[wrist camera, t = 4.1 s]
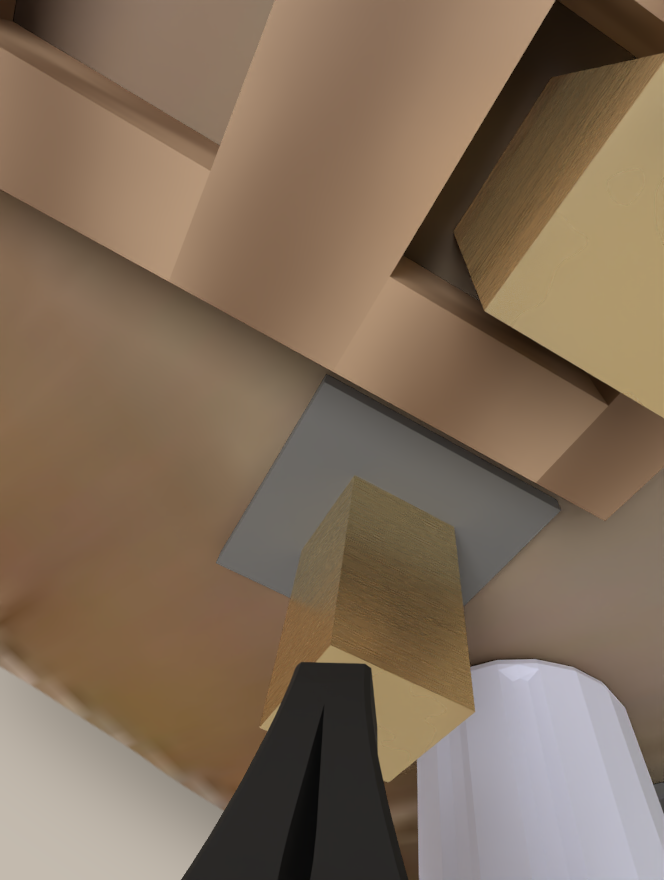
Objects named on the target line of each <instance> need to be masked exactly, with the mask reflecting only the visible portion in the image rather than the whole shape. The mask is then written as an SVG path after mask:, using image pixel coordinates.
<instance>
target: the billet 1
mask: <svg viewBox="0 0 664 880" xmlns="http://www.w3.org/2000/svg"><path fill="white" fill-rule="evenodd" d="M301 662H320V663H360V664H366V665H368V666H369V667H370V668H371V670H372V680H373V689H374V699H375V709H376V718H377V738H378V758H379V762H380V767H381V772H382V777H383V780H384V781H386V782H390V781H391V780H392V779H394V778H395V777H396V776H397V775H398V774H400V773H401V772H402V771H403V770H405V769H406V768H407V767H408V766H410V765H411V764H412V763H413V762H414V761H416V760H417V759H418V758H419V757H421V756H422V755H423V754H424V753H425V752H427V751H428V750H429V749H430V748H432V747H433V746H434V745H435V744H436V743H438V742H439V741H440V740H441V739H443V738H444V737H445V736H446V735H448V734H449V733H450V732H451V731H452V730H454V729H455V728H456V727H457V726H459V725H460V724H461V723H462V722H463V721H465V720H466V719H467V718H468V717H470V716H471V715H472V714H473V713H474V712H475V705H474V697H473V688H472V679H471V670H470V662H469V653H468V644H467V635H466V626H465V618H464V609H463V600H462V591H461V583H460V574H459V565H458V556H457V548H456V539H455V530H454V526H452V525H450V524H448V523H446V522H444V521H442V520H440V519H438V518H436V517H434V516H432V515H430V514H429V513H427V512H425V511H423V510H421V509H419V508H417V507H415V506H413V505H411V504H409V503H407V502H405V501H404V500H402V499H400V498H398V497H396V496H394V495H392V494H390V493H388V492H386V491H384V490H382V489H380V488H378V487H377V486H375V485H373V484H371V483H369V482H367V481H365V480H363V479H361V478H359V477H357V476H355V475H354V477H353V478H352V479H351V481H350V482H349V484H348V485H347V486H346V488H345V489H344V491H343V492H342V494H341V495H340V496H339V498H338V499H337V501H336V502H335V503H334V505H333V506H332V508H331V509H330V511H329V512H328V513H327V515H326V516H325V518H324V519H323V521H322V522H321V523H320V525H319V526H318V528H317V529H316V530H315V532H314V533H313V535H312V536H311V538H310V539H309V540H308V542H307V543H306V545H305V546H304V547H303V549H302V551H301V555H300V559H299V563H298V568H297V572H296V576H295V580H294V584H293V589H292V593H291V597H290V601H289V606H288V610H287V614H286V618H285V622H284V627H283V631H282V635H281V639H280V643H279V648H278V652H277V656H276V660H275V664H274V669H273V673H272V677H271V681H270V686H269V690H268V694H267V698H266V702H265V707H264V711H263V715H262V719H261V723H260V728H262V729H264V730H266V731H268V729H269V727H270V725H271V723H272V721H273V719H274V717H275V715H276V713H277V711H278V709H279V706H280V704H281V702H282V700H283V697H284V695H285V693H286V690H287V688H288V686H289V683H290V681H291V679H292V676H293V673H294V671H295V668H296V666H297V665H298V664H299V663H301Z"/></svg>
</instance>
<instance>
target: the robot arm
mask: <svg viewBox="0 0 664 880" xmlns="http://www.w3.org/2000/svg"><path fill="white" fill-rule="evenodd" d="M181 880H408V877H407V874H406V870H405V867H404V863H403V859H402V856H401V852H400V848H399V845H398V841H397V837H396V833H395V829H394V825H393V822H392V817H391V813H390V809H389V805H388V801H387V796H386V791H385V787H384V782H383V777H382V772H381V767H380V762H379V758H378V738H377V718H376V709H375V699H374V689H373V680H372V670H371V668H370V667H369V666H368V665H366V664H360V663H320V662H301V663H299V664H298V665H297V666H296V668H295V671H294V673H293V676H292V679H291V681H290V683H289V686H288V688H287V690H286V693H285V695H284V697H283V700H282V702H281V704H280V706H279V709H278V711H277V713H276V715H275V717H274V719H273V721H272V723H271V725H270V727H269V729H268V732H267V734H266V736H265V738H264V740H263V741H262V743H261V745H260V747H259V749H258V751H257V753H256V755H255V757H254V759H253V760H252V762H251V764H250V766H249V768H248V770H247V772H246V774H245V776H244V778H243V779H242V781H241V783H240V785H239V787H238V788H237V790H236V792H235V793H234V795H233V797H232V798H231V800H230V802H229V804H228V805H227V807H226V809H225V810H224V812H223V814H222V816H221V817H220V819H219V821H218V822H217V824H216V826H215V827H214V829H213V831H212V833H211V834H210V836H209V837H208V839H207V841H206V842H205V844H204V845H203V847H202V849H201V850H200V852H199V853H198V855H197V856H196V858H195V859H194V861H193V863H192V864H191V866H190V867H189V869H188V870H187V872H186V873H185V875H184V876H183V878H182V879H181Z"/></svg>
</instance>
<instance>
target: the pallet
mask: <svg viewBox="0 0 664 880" xmlns="http://www.w3.org/2000/svg"><path fill="white" fill-rule="evenodd" d="M558 1H559V2H561V3H562V4H563V5H565V6H566V7H568V8H569V9H570V10H572V11H573V12H574V13H576V14H577V15H579V16H580V17H581V18H583V19H584V20H586V21H587V22H588V23H590V24H591V25H593V26H594V27H595V28H597V29H598V30H600V31H601V32H602V33H604V34H605V35H606V36H608V37H609V38H611V39H612V40H613V41H615V42H616V43H618V44H619V45H620V46H622V47H623V48H625V49H626V50H627V51H629V52H630V53H631V54H633V55H634V56H636V57H637V58H643V57H647V56H652V55H656V54H661V53H664V0H558ZM554 2H555V0H275V1H274V4H273V6H272V9H271V12H270V14H269V17H268V20H267V22H266V25H265V28H264V30H263V33H262V36H261V38H260V41H259V44H258V46H257V49H256V51H255V54H254V57H253V59H252V62H251V65H250V67H249V70H248V73H247V75H246V78H245V81H244V83H243V86H242V89H241V91H240V94H239V96H238V99H237V102H236V104H235V107H234V110H233V112H232V115H231V118H230V120H229V123H228V126H227V128H226V131H225V134H224V136H223V139H222V142H221V144H220V145H218V144H216V143H215V142H213V141H211V140H210V139H208V138H206V137H205V136H203V135H201V134H200V133H198V132H196V131H195V130H193V129H191V128H190V127H188V126H186V125H185V124H183V123H181V122H179V121H178V120H176V119H174V118H173V117H171V116H169V115H168V114H166V113H164V112H163V111H161V110H159V109H158V108H156V107H154V106H153V105H151V104H149V103H148V102H146V101H144V100H143V99H141V98H139V97H138V96H136V95H134V94H133V93H131V92H129V91H128V90H126V89H124V88H123V87H121V86H119V85H118V84H116V83H114V82H113V81H111V80H109V79H108V78H106V77H104V76H103V75H101V74H99V73H98V72H96V71H94V70H93V69H91V68H89V67H88V66H86V65H84V64H83V63H81V62H79V61H78V60H76V59H74V58H73V57H71V56H69V55H68V54H66V53H64V52H63V51H61V50H59V49H58V48H56V47H54V46H53V45H51V44H49V43H48V42H46V41H44V40H43V39H41V38H39V37H38V36H36V35H34V34H33V33H31V32H29V31H28V30H26V29H24V28H23V27H21V26H19V25H18V24H16V23H14V22H13V15H14V9H15V4H16V0H0V189H1V190H3V191H5V192H6V193H8V194H10V195H12V196H14V197H15V198H17V199H19V200H21V201H23V202H25V203H26V204H28V205H30V206H32V207H34V208H36V209H37V210H39V211H41V212H43V213H45V214H46V215H48V216H50V217H52V218H54V219H56V220H57V221H59V222H61V223H63V224H65V225H66V226H68V227H70V228H72V229H74V230H76V231H77V232H79V233H81V234H83V235H85V236H87V237H88V238H90V239H92V240H94V241H96V242H97V243H99V244H101V245H103V246H105V247H107V248H108V249H110V250H112V251H114V252H116V253H117V254H119V255H121V256H123V257H125V258H127V259H128V260H130V261H132V262H134V263H136V264H138V265H139V266H141V267H143V268H145V269H147V270H148V271H150V272H152V273H154V274H156V275H158V276H159V277H161V278H163V279H165V280H167V281H169V282H170V283H172V284H174V285H176V286H178V287H179V288H181V289H183V290H185V291H187V292H189V293H190V294H192V295H194V296H196V297H198V298H199V299H201V300H203V301H205V302H207V303H209V304H210V305H212V306H214V307H216V308H218V309H220V310H221V311H223V312H225V313H227V314H229V315H230V316H232V317H234V318H236V319H238V320H240V321H241V322H243V323H245V324H247V325H249V326H251V327H252V328H254V329H256V330H258V331H260V332H261V333H263V334H265V335H267V336H269V337H271V338H272V339H274V340H276V341H278V342H280V343H281V344H283V345H285V346H287V347H289V348H291V349H292V350H294V351H296V352H298V353H300V354H302V355H303V356H305V357H307V358H309V359H311V360H312V361H314V362H316V363H318V364H320V365H322V366H323V367H325V368H327V369H329V370H331V371H333V372H334V373H336V374H338V375H340V376H342V377H343V378H345V379H347V380H349V381H351V382H353V383H354V384H356V385H358V386H360V387H362V388H363V389H365V390H367V391H369V392H371V393H373V394H374V395H376V396H378V397H380V398H382V399H384V400H385V401H387V402H389V403H391V404H393V405H394V406H396V407H398V408H400V409H402V410H404V411H405V412H407V413H409V414H411V415H413V416H415V417H416V418H418V419H420V420H422V421H424V422H425V423H427V424H429V425H431V426H433V427H435V428H436V429H438V430H440V431H442V432H444V433H445V434H447V435H449V436H451V437H453V438H455V439H456V440H458V441H460V442H462V443H464V444H466V445H467V446H469V447H471V448H473V449H475V450H476V451H478V452H480V453H482V454H484V455H486V456H487V457H489V458H491V459H493V460H495V461H497V462H498V463H500V464H502V465H504V466H506V467H507V468H509V469H511V470H513V471H515V472H517V473H518V474H520V475H522V476H524V477H526V478H527V479H529V480H531V481H533V482H535V483H537V484H538V485H540V486H542V487H544V488H546V489H548V490H549V491H551V492H553V493H555V494H557V495H558V496H560V497H562V498H564V499H566V500H568V501H569V502H571V503H573V504H575V505H577V506H579V507H580V508H582V509H584V510H586V511H588V512H589V513H591V514H593V515H595V516H597V517H599V518H600V519H602V520H604V521H606V520H607V519H608V518H609V517H610V516H611V515H612V514H613V513H614V512H615V511H617V510H618V509H619V508H620V507H621V506H622V505H623V504H624V503H625V502H626V501H627V500H628V499H630V498H631V497H632V496H633V495H634V494H635V493H636V492H637V491H638V490H639V489H640V488H641V487H643V486H644V485H645V484H646V483H647V482H648V481H649V480H650V479H651V478H652V477H653V476H655V475H656V474H657V473H658V472H659V471H660V470H661V469H662V468H663V467H664V418H663V417H661V416H659V415H658V414H656V413H654V412H653V411H651V410H649V409H648V408H646V407H644V406H643V405H641V404H639V403H638V402H636V401H634V400H633V399H631V398H629V397H628V396H626V395H624V394H623V393H621V392H619V391H618V390H616V389H614V388H613V387H611V386H609V385H608V384H606V383H604V382H602V381H601V380H599V379H597V378H596V377H594V376H592V375H591V374H589V373H587V372H586V371H584V370H582V369H581V368H579V367H577V366H576V365H574V364H572V363H571V362H569V361H567V360H566V359H564V358H562V357H561V356H559V355H557V354H556V353H554V352H552V351H551V350H549V349H547V348H546V347H544V346H542V345H541V344H539V343H537V342H536V341H534V340H532V339H530V338H529V337H527V336H525V335H524V334H522V333H520V332H519V331H517V330H515V329H514V328H512V327H510V326H509V325H507V324H505V323H504V322H502V321H500V320H499V319H497V318H495V317H494V316H492V315H490V314H489V313H487V312H485V311H484V309H483V306H482V304H481V302H480V301H478V300H476V299H475V298H473V297H471V296H470V295H468V294H466V293H465V292H463V291H461V290H460V289H458V288H456V287H455V286H453V285H451V284H450V283H448V282H446V281H445V280H443V279H441V278H440V277H438V276H436V275H435V274H433V273H431V272H430V271H428V270H426V269H425V268H423V267H421V266H420V265H418V264H416V263H415V262H413V261H411V260H410V259H408V258H406V257H405V256H403V254H404V252H405V250H406V249H407V247H408V245H409V244H410V242H411V240H412V239H413V237H414V235H415V234H416V232H417V230H418V228H419V227H420V225H421V223H422V222H423V220H424V218H425V217H426V215H427V213H428V212H429V210H430V208H431V207H432V205H433V203H434V202H435V200H436V198H437V197H438V195H439V193H440V192H441V190H442V188H443V187H444V185H445V183H446V182H447V180H448V178H449V177H450V175H451V173H452V172H453V170H454V168H455V167H456V165H457V163H458V162H459V160H460V158H461V157H462V155H463V153H464V152H465V150H466V148H467V147H468V145H469V143H470V142H471V140H472V138H473V137H474V135H475V133H476V132H477V130H478V128H479V127H480V125H481V123H482V122H483V120H484V118H485V117H486V115H487V113H488V112H489V110H490V108H491V107H492V105H493V103H494V102H495V100H496V98H497V97H498V95H499V93H500V92H501V90H502V88H503V87H504V85H505V83H506V82H507V80H508V78H509V77H510V75H511V73H512V72H513V70H514V68H515V67H516V65H517V63H518V62H519V60H520V58H521V57H522V55H523V53H524V52H525V50H526V48H527V47H528V45H529V43H530V42H531V40H532V38H533V37H534V35H535V33H536V32H537V30H538V28H539V27H540V25H541V23H542V22H543V20H544V18H545V17H546V15H547V13H548V12H549V10H550V8H551V7H552V5H553V3H554Z"/></svg>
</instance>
